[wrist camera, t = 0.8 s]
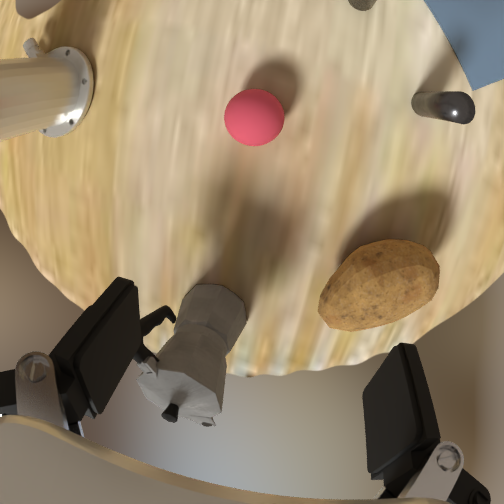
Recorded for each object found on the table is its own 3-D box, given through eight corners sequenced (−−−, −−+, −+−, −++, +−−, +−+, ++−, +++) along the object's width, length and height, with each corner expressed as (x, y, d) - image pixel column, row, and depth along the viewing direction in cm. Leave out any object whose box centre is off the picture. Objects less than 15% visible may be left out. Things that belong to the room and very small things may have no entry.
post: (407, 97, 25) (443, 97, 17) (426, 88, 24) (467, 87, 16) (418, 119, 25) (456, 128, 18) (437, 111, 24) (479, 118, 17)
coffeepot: (266, 336, 42) (242, 450, 26) (211, 349, 45) (173, 449, 29) (210, 244, 36) (144, 352, 21) (153, 268, 40) (80, 364, 24)
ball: (222, 108, 29) (205, 109, 24) (267, 80, 27) (259, 75, 22) (250, 151, 30) (239, 161, 26) (296, 125, 28) (294, 130, 24)
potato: (301, 258, 35) (298, 299, 28) (410, 207, 30) (436, 237, 23) (335, 317, 38) (337, 362, 31) (432, 274, 33) (454, 313, 26)
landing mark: (408, -21, 18) (409, -22, 17) (487, -34, 12) (488, -35, 12) (472, 90, 22) (473, 90, 22) (540, 65, 17) (541, 65, 17)
